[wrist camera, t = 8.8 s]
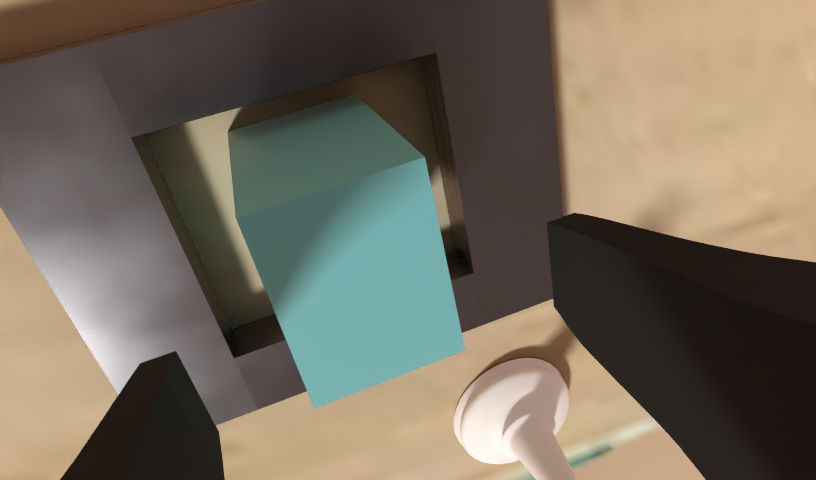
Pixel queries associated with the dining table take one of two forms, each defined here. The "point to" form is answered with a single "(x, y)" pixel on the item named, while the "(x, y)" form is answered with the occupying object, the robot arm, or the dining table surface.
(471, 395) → the chess piece
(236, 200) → the plug
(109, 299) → the port block
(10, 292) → the dining table surface
